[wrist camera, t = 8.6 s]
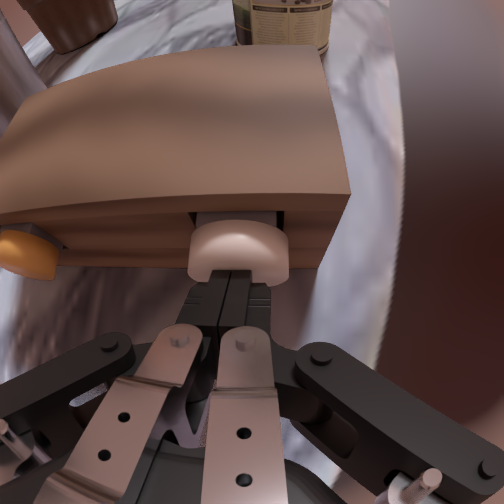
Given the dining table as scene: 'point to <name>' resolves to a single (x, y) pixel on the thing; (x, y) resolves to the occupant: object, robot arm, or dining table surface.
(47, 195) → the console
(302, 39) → the coffee can
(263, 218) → the ivory button
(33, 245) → the amber button
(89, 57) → the dining table surface
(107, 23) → the plant pot
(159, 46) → the dining table surface
